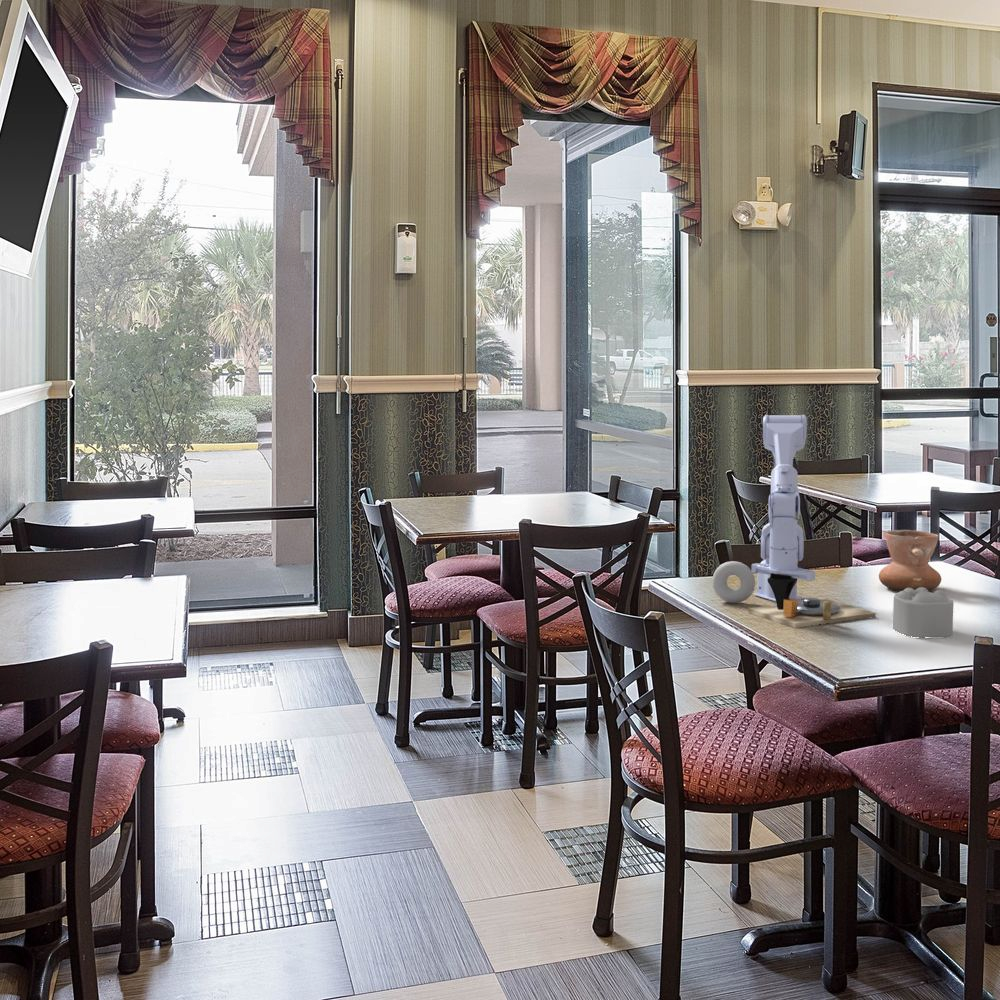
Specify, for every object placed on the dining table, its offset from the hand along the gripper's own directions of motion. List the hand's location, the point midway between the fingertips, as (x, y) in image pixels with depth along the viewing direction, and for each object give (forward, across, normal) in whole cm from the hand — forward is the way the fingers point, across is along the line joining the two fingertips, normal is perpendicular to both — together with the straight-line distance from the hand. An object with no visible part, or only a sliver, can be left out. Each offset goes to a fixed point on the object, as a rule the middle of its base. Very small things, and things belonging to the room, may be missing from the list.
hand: (781, 609), depth 234 cm
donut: (+3, -17, +7) cm, 19 cm away
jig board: (+2, +2, +8) cm, 9 cm away
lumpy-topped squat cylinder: (+3, +26, +11) cm, 28 cm away
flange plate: (+1, +2, +7) cm, 7 cm away
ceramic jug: (+3, +5, +50) cm, 50 cm away
